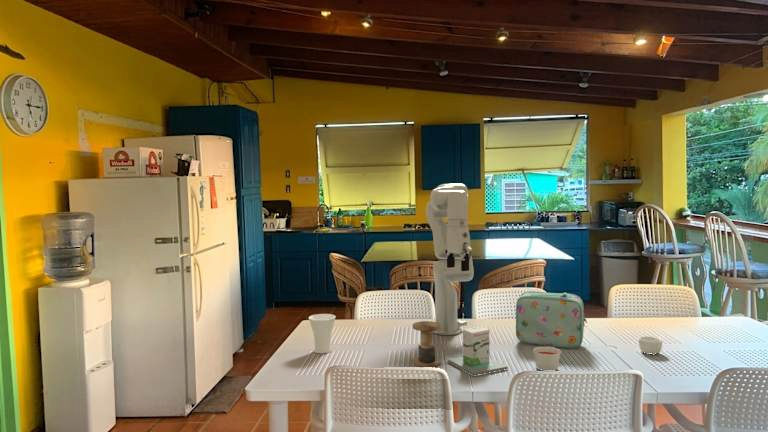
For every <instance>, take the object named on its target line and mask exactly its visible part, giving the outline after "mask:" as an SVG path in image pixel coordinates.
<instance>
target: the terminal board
mask: <svg viewBox="0 0 768 432" xmlns="http://www.w3.org/2000/svg"><path fill="white" fill-rule="evenodd" d="M448 362H449V363H448ZM447 363H448V364H450V365H452V364H453V365H452V366H454V365H455V366H457V367H458V368H457V367H456V368H457V369H459V368H460V369H459V370H461V369H462V370H461V371H463V370H464V371H463V372H465V371H466V372H468V373H470V374H472V375H473V376H472V375H471V376H472V377H475V376H474V375H478V374H484V373H489V372H494V371H499V370H504V369H508V365H505V364H503V363H501V362H499V361H498V360H495V359H493V358H491V357H489V362H487V363H482V364H478V365H474V366H471V365H468V364H466V363H463V356H459V357H454V358H453V357H452V358H448V359H447ZM455 366H454V367H455ZM504 371H505V370H504ZM466 372H465V373H466ZM499 372H500V371H499ZM468 373H467V374H468ZM494 373H495V372H494ZM470 374H469V375H470ZM489 374H490V373H489ZM484 375H485V374H484Z"/></svg>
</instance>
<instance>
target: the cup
mask: <svg viewBox="0 0 768 432" xmlns="http://www.w3.org/2000/svg"><path fill="white" fill-rule="evenodd" d="M308 320H309V323H310V327H311V330H312V333H313V337H314V353H315V354H328V353H330V352H332V347H331V346H332V345H331V343H332V342H331V339H332V331H333V328H334V324H335V321H336V315H334V314H331V313H318V314H316V313H315V314H312V315H310V316H309V317H308Z"/></svg>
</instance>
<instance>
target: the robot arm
mask: <svg viewBox="0 0 768 432" xmlns="http://www.w3.org/2000/svg"><path fill="white" fill-rule="evenodd" d="M429 198H430V200H429V201H428V202H427V204H426V206H425V214H426V219H427V223H428V225H429V227H430V229H431V232H432V239H433V247H434V248H433V250H434V255H435V257H436V258H437V259H439V260H437V261H435V262H434V263H433V266H432V273H433V281H434V295H435V297H434V299H435V301H434V303H435V305H434V306H435V307H434V308H435V309H434V310H435V311H434V312H435V315H434V316H435V322H437V323H440V324H441V328H440V329H439V330H435V331H433V334H435V335H441V336H455V335H458V334H461V333H462V328H461V327H465V326H467V325H468V323H467V321H466V320H464V321H461V320H458V291H457V289H456V288H455V286H454V285H453V284H452V283H454V282H469V281H471V280H473V278H474V274H475V273H474V272H475V270H474V264H473V257H472V253H473V248H472V247H471V235H470V229H469V226H468V223H469V220H468V218H469V217H468V216H469V215H468V210H469V208H468V205H469V201H470V199H469V198H470V197H469V190H468V187H467V185H465V184H464V183H442V184H439V185H438V186H437V187H436V188H434V189H432V190H431V192H430V197H429ZM443 219H447V222H446V221H445V220H443Z"/></svg>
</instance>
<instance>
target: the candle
mask: <svg viewBox="0 0 768 432" xmlns="http://www.w3.org/2000/svg"><path fill="white" fill-rule="evenodd" d="M561 353H562V352H561V350H560V349H558V347H548V346H536V347H534V348H533V355H534V361H535V366H536V368H537V367H538V368H539V369H542V370H556V369H557V370H558V368H559V365H560V364H559V363H560V358H561ZM538 368H537V369H538ZM539 369H538V370H539ZM542 370H541V371H542ZM557 370H556V371H557Z"/></svg>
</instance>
